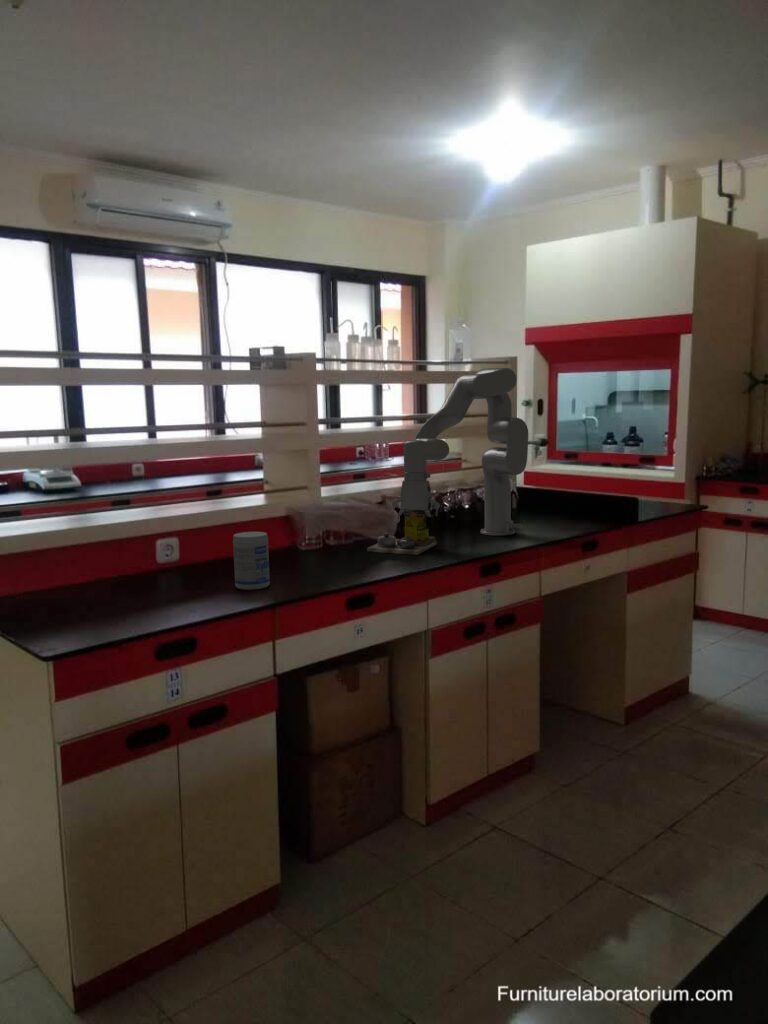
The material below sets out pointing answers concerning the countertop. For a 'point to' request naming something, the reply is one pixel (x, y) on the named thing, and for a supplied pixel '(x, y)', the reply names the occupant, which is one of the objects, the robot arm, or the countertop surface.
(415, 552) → the carrier board
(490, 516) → the robot arm
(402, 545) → the seated puck
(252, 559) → the supplement tub
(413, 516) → the supplement box
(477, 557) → the countertop surface
